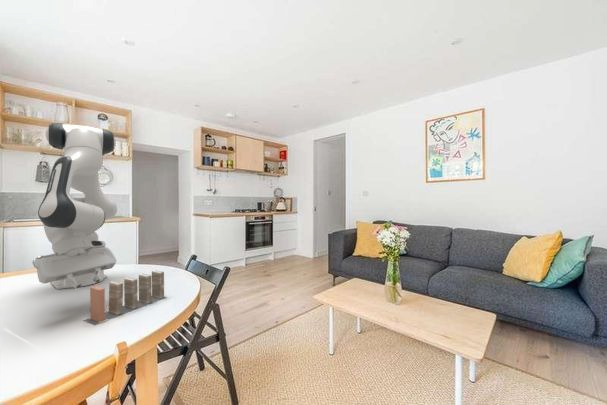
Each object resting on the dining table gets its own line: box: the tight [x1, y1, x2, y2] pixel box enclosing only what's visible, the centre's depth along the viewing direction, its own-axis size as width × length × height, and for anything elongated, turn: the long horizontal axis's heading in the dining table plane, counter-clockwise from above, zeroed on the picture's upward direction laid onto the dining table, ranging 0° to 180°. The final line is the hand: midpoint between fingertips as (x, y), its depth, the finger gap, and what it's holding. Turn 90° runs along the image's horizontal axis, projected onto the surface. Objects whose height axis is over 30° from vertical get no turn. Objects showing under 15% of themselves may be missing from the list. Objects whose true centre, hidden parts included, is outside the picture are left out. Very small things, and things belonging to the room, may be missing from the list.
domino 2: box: [123, 276, 139, 309], centre depth 90 cm, size 2×5×10 cm, turn 64°
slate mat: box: [82, 296, 169, 326], centre depth 89 cm, size 7×24×1 cm, turn 154°
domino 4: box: [151, 270, 165, 300], centre depth 99 cm, size 2×5×10 cm, turn 64°
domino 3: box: [138, 273, 152, 304], centre depth 94 cm, size 2×5×10 cm, turn 64°
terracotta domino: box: [89, 285, 106, 322], centre depth 80 cm, size 2×5×10 cm, turn 64°
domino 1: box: [108, 280, 124, 315], centre depth 85 cm, size 2×5×10 cm, turn 64°
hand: (88, 284), depth 83 cm, fingers open, 4 cm apart
